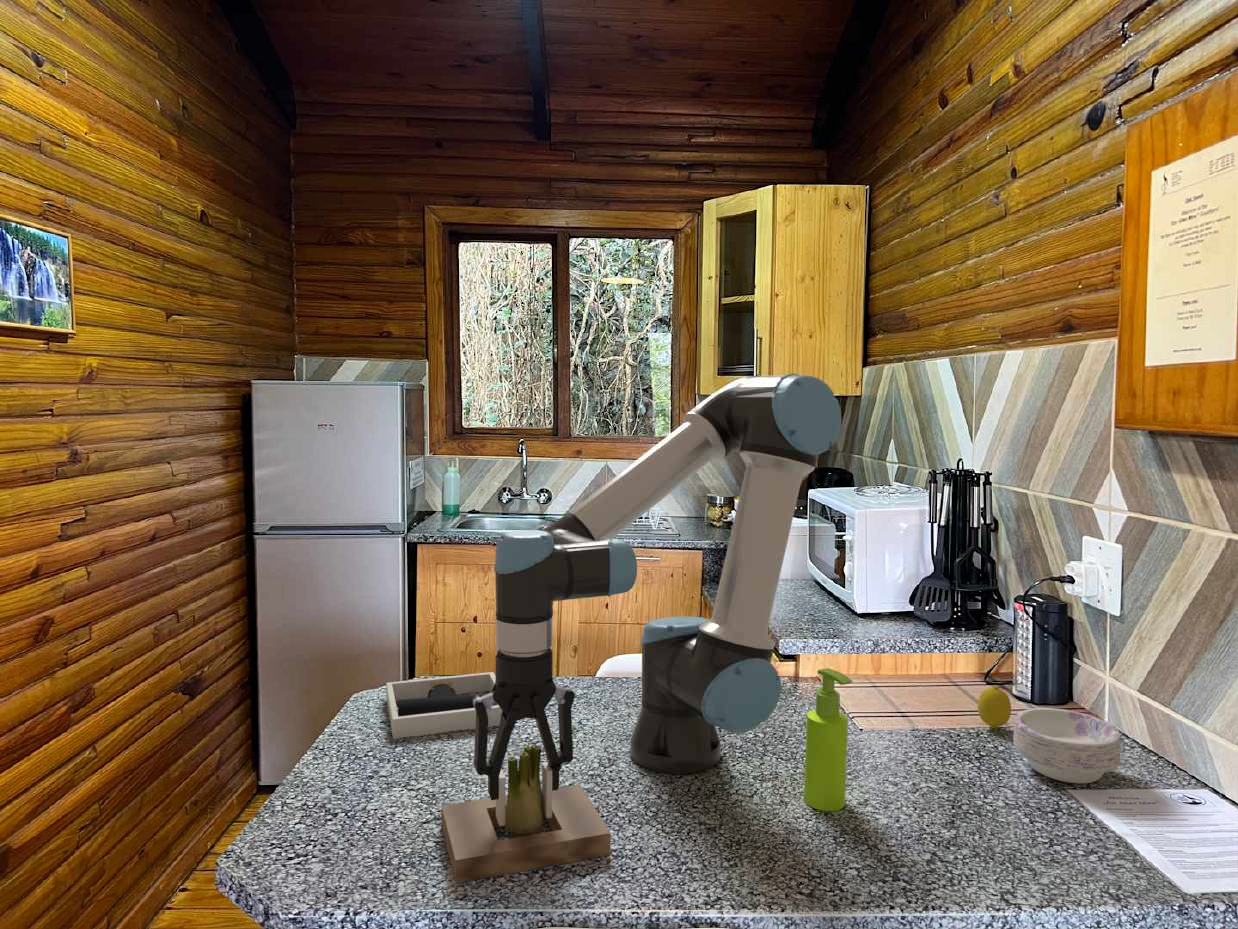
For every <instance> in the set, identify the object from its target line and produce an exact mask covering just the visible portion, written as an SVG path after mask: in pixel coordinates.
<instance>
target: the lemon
mask: <svg viewBox="0 0 1238 929" xmlns="http://www.w3.org/2000/svg"><path fill="white" fill-rule="evenodd" d="M977 712H978V715H979V718H980V719H981V721H983V722H984V723H985V725H988V726H989V727H990V728H991V729H993V730H995V729H997V728H999V727H1001V726H1004V725H1005V724H1007V723H1008V722H1009V720H1010V717H1011V714H1012V704H1011V700H1010V698H1009V695H1008V694H1007V693H1006V692H1005V691H1004V690H1003V689H1002V688H999V687H998V686H997V685H996V686H995V685H994V686H992V687H987V688H986V689H984V690H983V691H982V692H981V693H980V695H979V697H978V702H977Z"/></svg>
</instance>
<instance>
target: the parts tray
mask: <svg viewBox="0 0 1238 929" xmlns="http://www.w3.org/2000/svg"><path fill="white" fill-rule="evenodd" d="M495 680H496V673H495V672H494V671H491V672H481V673H478V672H477V673H469V674H461V675H460V674H459V675H450V676H440V677H431V678H419V679H410V680H399V681H390V682H389V681H388V682H386V684H385V685H386V704H387V710H388V717H389V722H390V729H391V734H392V740H397V739H404V738H403V737H406V738H411V737H410V736H414V737H421V736H428V735H429V734H430V735H437V734H436V733H438V734H443V733H442V732H446V733H450V732H449V731H454V732H458V731H457V730H462V731H468V729H469V731H470V730H475V728H476V711H475V708H470V709H461V710H452V711H444V712H435V713H426V714H417V715H409V716H400V717H398V706H397V702H399V700H405V699H421V698H427V697H428V692H429V690H430V688H431V683H441V682H445V683H446V682H452V687H453V688H454V689H455V692H456V695H463V694H464V695H466V694H472V693H481V692H489V693H491V692H492V689H493V687H494V685H495ZM494 703H495V705H492V706H491V708H492V709H491V711H490V712H489V713H487V715H488V728H494V727H493V726H495V727H499V724H500V717H501V713H502V709H501V708H500V707H499V705H498V704H497V703H496V702H494ZM430 735H429V736H430Z"/></svg>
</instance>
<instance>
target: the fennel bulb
mask: <svg viewBox="0 0 1238 929" xmlns="http://www.w3.org/2000/svg"><path fill="white" fill-rule="evenodd" d="M541 754H542V746H541V745H533V746H525V747H523V751H521V752H520V754H519V759H518V758H517V757H516V756H509V757H507V758H508V759H507V773H508V774H507V779H508V780H507V783H508V784H507V795H508V797H507V804H506V813H505V826H504V827H505V831H506V834H507V837H508V839H510V838H516V837H522V836H528V835H534V834H539V833H543V830H544V820H543V806H542V783H541V779H540V776H541V775H540V773H541V772H540V768H541V767H540V766H541Z"/></svg>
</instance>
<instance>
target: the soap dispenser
mask: <svg viewBox="0 0 1238 929" xmlns="http://www.w3.org/2000/svg"><path fill="white" fill-rule="evenodd" d="M817 675H820V676H822V688H820V689H818V690H816V694H815V708H814V709H811V710H809V711H808V712H807V713H806V728H805V729H806V734H805V735H806V736H805V761H804V762H805V763H804V764H805V765H804V793H803V794H804V795H803V796H804V797H803V799H804V802H805V804H806V805H807V806H809V807H811V808H813V809H816V810H819V811H824V812H837V811H840V810H842V809H843V808H844V807H845V804H846V802H845V801H846V782H847V781H846V780H847V779H846V776H847V758H848V756H847V755H848V729H849V718H848V716H847V715H846V714H845V713H843V712H841V711H840V708H841V707H840V702H841V701H840V700H841V694H840V692H838V691H837V690H835V682H837V683H838V684H839V685H840V686H843V685H848V684H852V683H853V680H852V679H851V678H850V677H848V676H847V675H845V674H844V673H842V672H840V671H837V670H836V669H835V670H834V669H831V668H828V667H827V668H821V669H817Z"/></svg>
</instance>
